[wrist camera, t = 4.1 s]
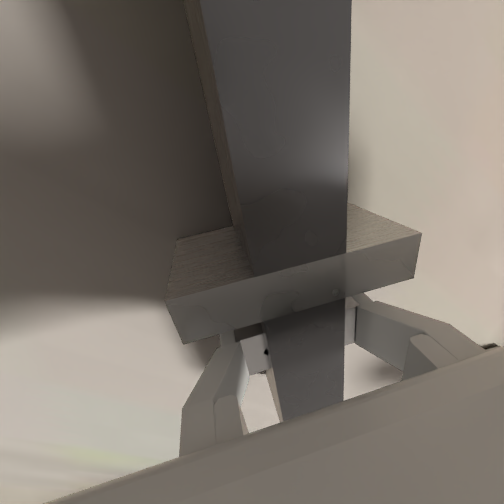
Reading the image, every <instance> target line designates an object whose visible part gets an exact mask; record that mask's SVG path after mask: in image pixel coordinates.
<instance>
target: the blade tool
mask: <svg viewBox="0 0 504 504" xmlns="http://www.w3.org/2000/svg"><path fill="white" fill-rule="evenodd" d="M183 3H184V7H185V12H186V16H187V21H188V25H189V30H190V34H191V39H192V43H193V48H194V52H195V57H196V61H197V66H198V70H199V75H200V79H201V84H202V88H203V93H204V97H205V102H206V106H207V111H208V115H209V120H210V124H211V129H212V133H213V138H214V142H215V147H216V151H217V156H218V160H219V165H220V169H221V174H222V178H223V183H224V187H225V192H226V196H227V201H228V205H229V210H230V214H231V219H232V223H233V226H230V227H226V228H222V229H218V230H213V231H209V232H205V233H201V234H197V235H192V236H188V237H184V238H180V239H177V243H176V248H175V253H174V257H173V262H172V267H171V272H170V277H169V282H168V287H167V292H166V296H165V304H166V306H167V308H168V310H169V313H170V315H171V317H172V320H173V322H174V324H175V326H176V329H177V331H178V333H179V335H180V338H181V340H182V342H183V344H187V343H190V342H194V341H197V340H201V339H204V338H208V337H211V336H215V335H218V334H222V333H225V332H228V331H232V330H235V329H239V328H242V327H246V326H249V325H253V324H256V323H260V324H261V327H262V330H263V333H264V338H265V343H266V351H267V354H268V357H269V362H270V367H271V368H270V369H267V370H265V372H266V376H267V379H268V383H269V386H270V390H271V393H272V396H273V400H274V403H275V407H276V410H277V413H278V417H279V420H280V423H281V422H284V421H287V420H289V419H292V418H295V417H298V416H301V415H304V414H307V413H310V412H313V411H316V410H319V409H322V408H325V407H327V406H330V405H333V404H336V403H339V402H342V401H343V391H344V342H345V298H346V297H350V296H353V295H357V294H360V293H364V292H367V291H371V290H374V289H378V288H381V287H385V286H388V285H391V284H395V283H398V282H402V281H405V280H409V279H412V278H414V274H415V268H416V263H417V257H418V252H419V246H420V241H421V236H422V233H421V232H418V231H416V230H413V229H411V228H409V227H406V226H404V225H401V224H399V223H396V222H394V221H391V220H389V219H387V218H384V217H382V216H379V215H377V214H374V213H372V212H370V211H367V210H365V209H362V208H360V207H357V206H355V205H352V204H350V203H348V202H347V197H348V148H349V100H350V52H351V3H352V0H183Z"/></svg>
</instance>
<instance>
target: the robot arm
mask: <svg viewBox="0 0 504 504" xmlns="http://www.w3.org/2000/svg"><path fill="white" fill-rule="evenodd" d="M219 337H220V346H221V347H219V348H217V349H216V350H215V352H214V354H213V356H212V357H211V359H210V361H209V363H208V364H207V366H206V368H205V370H204V371H203V373H202V375H201V377H200V378H199V380H198V382H197V384H196V385H195V387H194V389H193V391H192V392H191V394H190V396H189V398H188V399H187V401H186V403H185V405H184V406H183V408H182V419H181V435H180V451H179V457H178V458H175V459H172V460H170V461H167V462H164V463H161V464H158V465H155V466H152V467H149V468H146V469H143V470H140V471H137V472H134V473H131V474H129V475H126V476H123V477H120V478H117V479H114V480H111V481H108V482H105V483H102V484H99V485H96V486H93V487H90V488H88V489H85V490H82V491H79V492H76V493H73V494H70V495H67V496H64V497H61V498H58V499H55V500H52V501H49V502H47V503H44V504H504V346H503V347H500V348H497V349H494V350H491V351H488V352H487V351H486V350H485V349H483V348H482V347H480V346H479V345H478V344H476V343H475V342H474V341H472V340H471V339H469V338H468V337H467V336H465V335H464V334H463V333H461V332H460V331H458V330H457V329H456V328H454V327H453V326H452V325H450V324H448V323H445V322H442V321H439V320H435V319H432V318H429V317H426V316H423V315H420V314H417V313H414V312H410V311H407V310H404V309H401V308H398V307H395V306H392V305H388V304H385V303H382V302H379V301H375V302H373V301H372V300H371V299H370V298H369V297H368V296H367V295H365V294H364V293H360V294H357V295H353V296H350V297H346V298H345V342H344V345H348V344H352V343H355V344H357V345H359V346H360V347H362V348H364V349H365V350H367V351H369V352H370V353H372V354H374V355H376V356H377V357H379V358H381V359H382V360H384V361H386V362H387V363H389V364H391V365H393V366H394V367H396V368H398V369H399V370H401V371H403V376H402V381H400V382H397V383H395V384H392V385H389V386H386V387H383V388H380V389H377V390H374V391H371V392H368V393H365V394H362V395H360V396H357V397H354V398H351V399H348V400H345V401H342V402H339V403H336V404H333V405H330V406H327V407H325V408H322V409H319V410H316V411H313V412H310V413H307V414H304V415H301V416H298V417H295V418H292V419H289V420H287V421H284V422H281V423H278V424H275V425H272V426H269V427H266V428H263V429H260V430H257V431H254V432H251V433H249V432H248V429H247V426H246V423H245V420H244V417H243V414H242V411H241V405H242V401H243V398H244V395H245V391H246V388H247V385H248V382H249V378H250V375H253V374H256V373H258V372H261V371H264V370H267V369H270V368H271V367H270V362H269V357H268V354H267V351H266V343H265V338H264V333H263V330H262V327H261V324H260V323H256V324H253V325H249V326H246V327H242V328H239V329H235V330H232V331H228V332H225V333H222V334H219Z"/></svg>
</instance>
